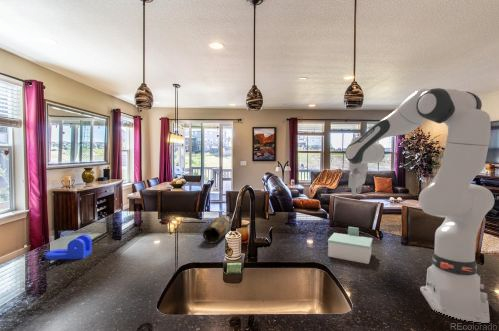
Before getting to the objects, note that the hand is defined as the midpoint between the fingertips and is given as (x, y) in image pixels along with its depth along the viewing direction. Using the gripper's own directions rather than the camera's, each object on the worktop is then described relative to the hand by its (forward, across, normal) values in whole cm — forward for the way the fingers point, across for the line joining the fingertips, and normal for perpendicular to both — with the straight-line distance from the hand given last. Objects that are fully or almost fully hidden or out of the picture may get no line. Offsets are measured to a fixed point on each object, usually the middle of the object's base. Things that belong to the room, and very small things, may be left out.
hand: (356, 194), depth 139 cm
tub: (+28, -12, -2) cm, 30 cm away
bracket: (+30, -92, +106) cm, 144 cm away
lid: (+22, -10, -1) cm, 24 cm away
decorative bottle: (+32, -20, +74) cm, 83 cm away
